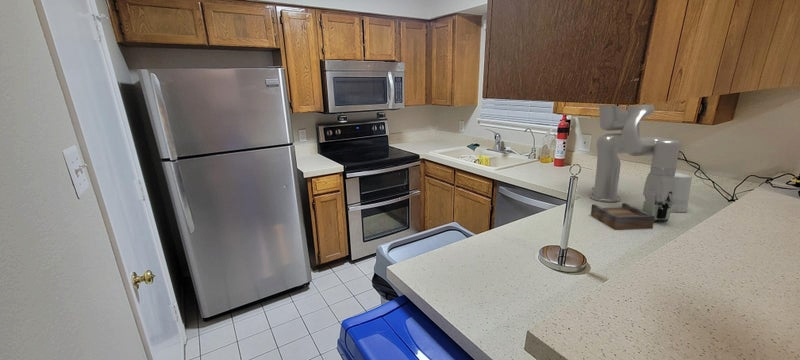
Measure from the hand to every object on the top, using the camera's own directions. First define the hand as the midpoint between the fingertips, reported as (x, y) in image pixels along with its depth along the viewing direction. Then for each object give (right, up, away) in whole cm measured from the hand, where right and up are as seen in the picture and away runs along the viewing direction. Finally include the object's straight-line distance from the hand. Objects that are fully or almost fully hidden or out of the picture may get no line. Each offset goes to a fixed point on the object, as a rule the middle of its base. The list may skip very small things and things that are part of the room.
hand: (655, 215), depth 128 cm
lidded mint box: (0, -2, 0) cm, 2 cm away
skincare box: (+16, +1, +11) cm, 20 cm away
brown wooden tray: (-14, -2, +1) cm, 14 cm away
